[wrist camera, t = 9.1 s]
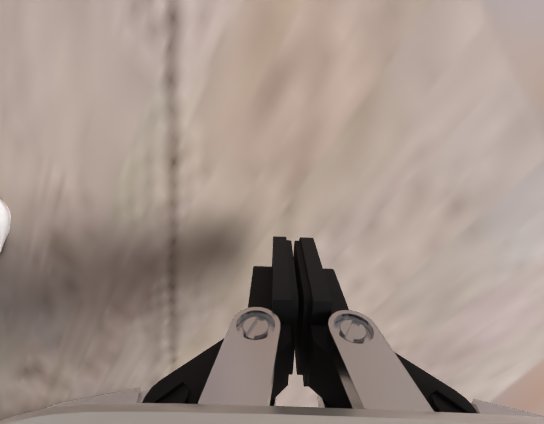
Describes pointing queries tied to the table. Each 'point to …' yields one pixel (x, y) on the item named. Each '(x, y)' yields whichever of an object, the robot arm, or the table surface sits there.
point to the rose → (4, 223)
